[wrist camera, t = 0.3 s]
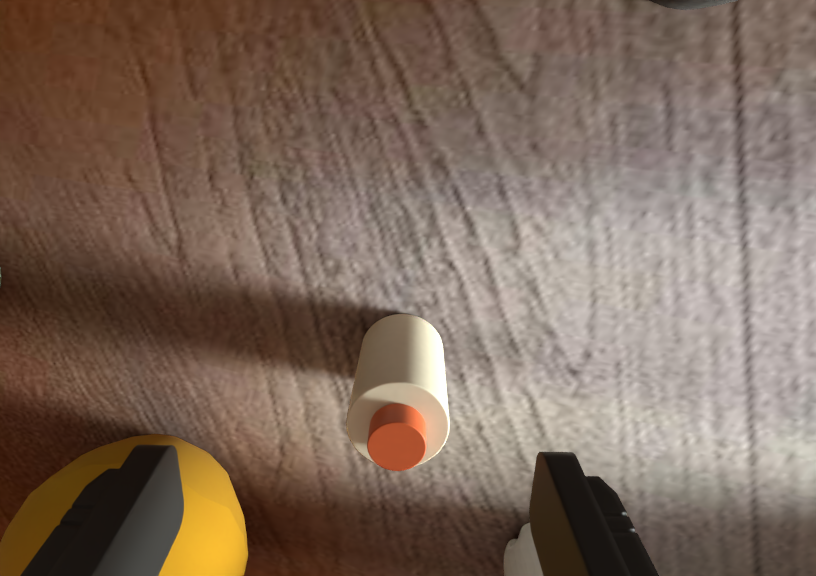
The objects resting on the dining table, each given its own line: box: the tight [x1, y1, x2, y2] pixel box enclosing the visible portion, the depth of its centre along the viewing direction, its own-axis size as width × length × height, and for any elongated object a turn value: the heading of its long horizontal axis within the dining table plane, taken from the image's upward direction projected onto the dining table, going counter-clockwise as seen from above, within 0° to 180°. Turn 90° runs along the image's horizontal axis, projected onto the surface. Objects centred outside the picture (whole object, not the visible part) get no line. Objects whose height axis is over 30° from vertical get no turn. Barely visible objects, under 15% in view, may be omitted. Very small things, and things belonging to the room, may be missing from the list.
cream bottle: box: [346, 314, 450, 471], centre depth 29 cm, size 5×5×9 cm
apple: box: [0, 434, 248, 576], centre depth 32 cm, size 13×13×11 cm
